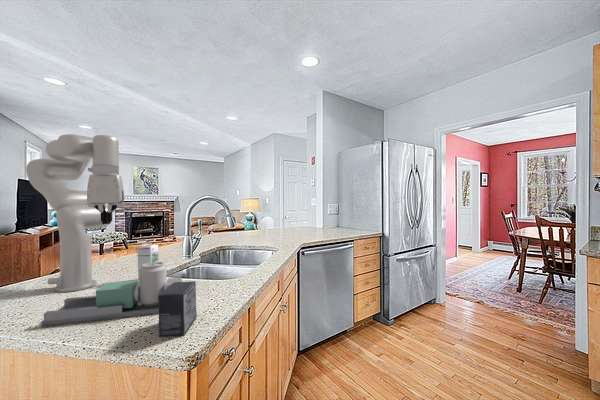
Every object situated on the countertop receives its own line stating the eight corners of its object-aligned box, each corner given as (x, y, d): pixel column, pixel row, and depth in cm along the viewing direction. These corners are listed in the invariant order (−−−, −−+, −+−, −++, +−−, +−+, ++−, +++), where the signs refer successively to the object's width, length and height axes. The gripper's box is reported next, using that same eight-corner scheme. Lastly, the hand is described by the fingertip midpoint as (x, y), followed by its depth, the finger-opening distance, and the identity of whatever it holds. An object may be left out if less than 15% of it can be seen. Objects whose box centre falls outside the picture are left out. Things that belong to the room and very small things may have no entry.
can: (138, 308, 81) (138, 267, 81) (140, 300, 88) (140, 262, 88) (166, 304, 84) (166, 264, 84) (166, 296, 91) (166, 260, 91)
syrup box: (151, 281, 113) (151, 246, 113) (137, 281, 113) (137, 246, 113) (159, 277, 119) (158, 244, 119) (145, 278, 119) (145, 244, 119)
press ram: (95, 311, 78) (95, 290, 78) (106, 301, 86) (106, 282, 86) (136, 307, 81) (135, 287, 81) (142, 298, 89) (142, 279, 89)
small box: (173, 318, 77) (172, 281, 78) (197, 317, 78) (197, 280, 78) (157, 337, 67) (156, 294, 67) (184, 336, 68) (184, 293, 68)
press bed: (41, 327, 73) (41, 298, 73) (65, 310, 84) (64, 285, 84) (177, 311, 83) (177, 286, 83) (182, 297, 94) (182, 275, 94)
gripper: (75, 169, 91) (75, 225, 91) (127, 170, 96) (127, 224, 96) (85, 172, 99) (86, 223, 99) (133, 172, 103) (133, 222, 103)
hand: (106, 223), depth 97 cm, fingers closed
